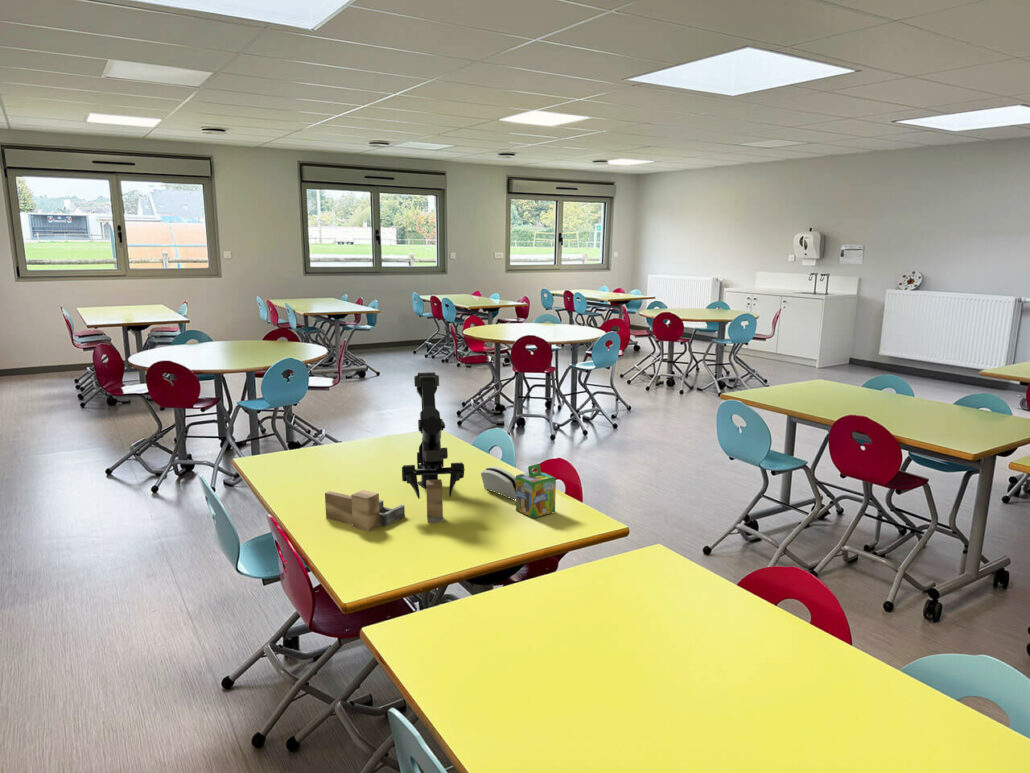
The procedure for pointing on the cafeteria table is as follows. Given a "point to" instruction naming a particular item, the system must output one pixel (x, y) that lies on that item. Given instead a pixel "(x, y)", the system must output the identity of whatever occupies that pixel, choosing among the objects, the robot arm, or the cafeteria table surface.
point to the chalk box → (535, 492)
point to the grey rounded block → (499, 481)
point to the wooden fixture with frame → (361, 510)
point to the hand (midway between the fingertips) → (434, 497)
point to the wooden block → (434, 501)
